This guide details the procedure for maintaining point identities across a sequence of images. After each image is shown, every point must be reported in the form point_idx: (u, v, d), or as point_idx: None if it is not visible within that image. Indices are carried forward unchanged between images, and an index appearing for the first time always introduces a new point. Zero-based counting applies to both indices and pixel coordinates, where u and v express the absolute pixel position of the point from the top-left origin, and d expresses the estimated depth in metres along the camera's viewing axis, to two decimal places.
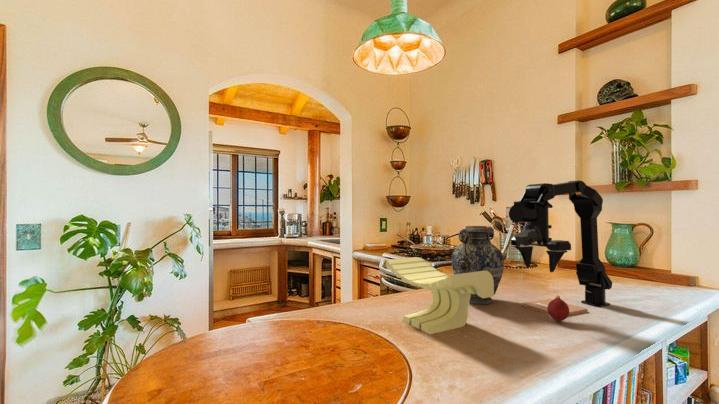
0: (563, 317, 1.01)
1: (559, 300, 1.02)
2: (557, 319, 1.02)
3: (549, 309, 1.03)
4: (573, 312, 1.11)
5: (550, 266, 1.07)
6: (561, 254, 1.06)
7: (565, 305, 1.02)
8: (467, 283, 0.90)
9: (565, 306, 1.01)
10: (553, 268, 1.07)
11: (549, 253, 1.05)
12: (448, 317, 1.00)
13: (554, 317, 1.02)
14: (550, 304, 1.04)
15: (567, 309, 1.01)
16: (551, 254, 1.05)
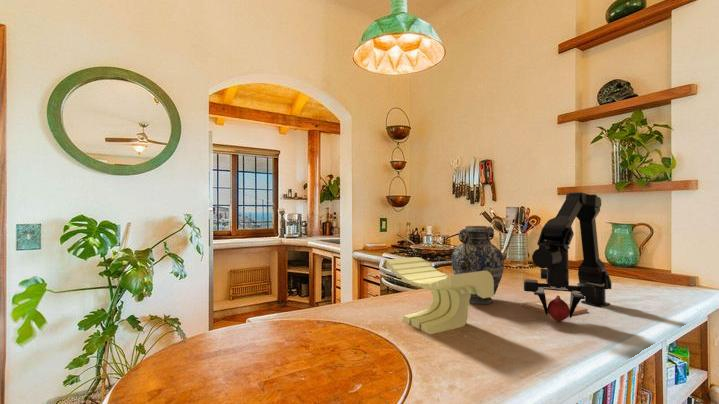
0: (563, 317, 1.01)
1: (559, 300, 1.02)
2: (557, 319, 1.02)
3: (549, 309, 1.03)
4: None
5: None
6: None
7: (565, 305, 1.02)
8: (467, 283, 0.90)
9: (565, 306, 1.01)
10: None
11: None
12: (448, 317, 1.00)
13: (554, 317, 1.02)
14: (550, 304, 1.04)
15: (567, 309, 1.01)
16: None
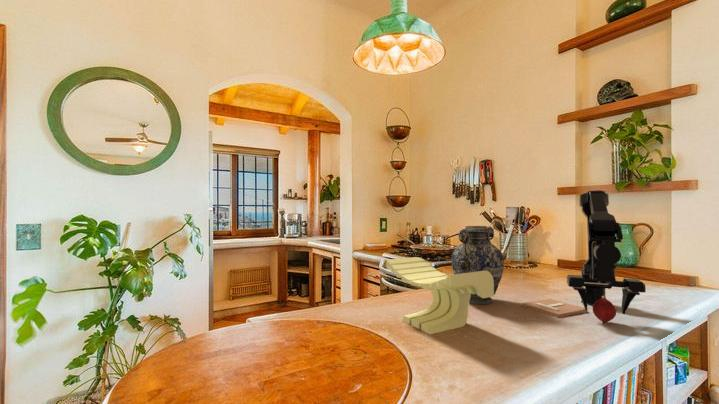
0: (610, 318, 1.00)
1: (605, 301, 1.02)
2: (604, 320, 1.01)
3: (595, 309, 1.03)
4: (573, 312, 1.11)
5: None
6: None
7: (612, 305, 1.01)
8: (467, 283, 0.90)
9: (612, 307, 1.01)
10: (584, 305, 1.05)
11: None
12: (448, 317, 1.00)
13: (601, 318, 1.02)
14: (596, 304, 1.03)
15: (614, 309, 1.00)
16: None
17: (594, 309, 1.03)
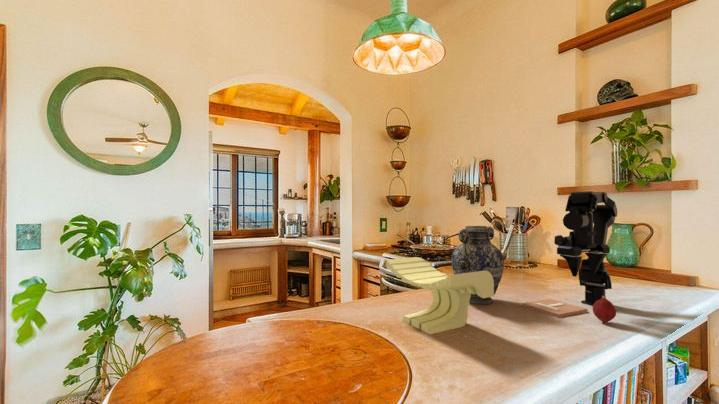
0: (610, 318, 1.00)
1: (605, 301, 1.02)
2: (604, 320, 1.01)
3: (595, 309, 1.03)
4: (573, 312, 1.11)
5: None
6: (576, 260, 1.10)
7: (612, 305, 1.01)
8: (467, 283, 0.90)
9: (612, 307, 1.01)
10: (573, 272, 1.12)
11: None
12: (448, 317, 1.00)
13: (601, 318, 1.02)
14: (596, 304, 1.03)
15: (614, 309, 1.00)
16: None
17: (594, 309, 1.03)
